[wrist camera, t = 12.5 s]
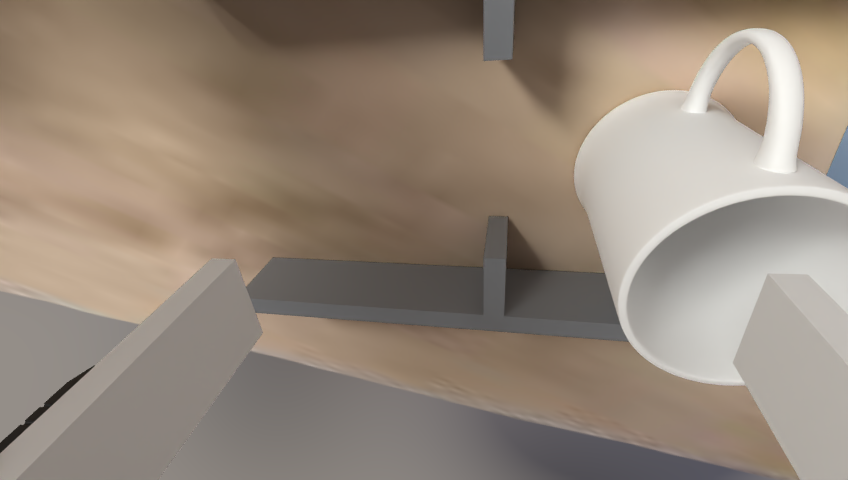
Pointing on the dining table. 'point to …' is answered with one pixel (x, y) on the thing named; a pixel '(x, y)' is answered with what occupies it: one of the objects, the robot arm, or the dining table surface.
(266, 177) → the dining table surface
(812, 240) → the mug
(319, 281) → the grey rectangular frame
